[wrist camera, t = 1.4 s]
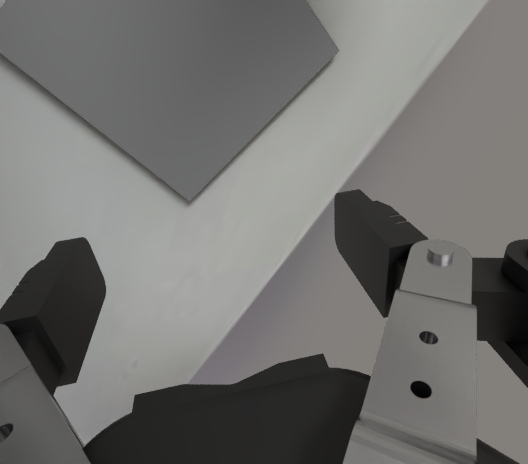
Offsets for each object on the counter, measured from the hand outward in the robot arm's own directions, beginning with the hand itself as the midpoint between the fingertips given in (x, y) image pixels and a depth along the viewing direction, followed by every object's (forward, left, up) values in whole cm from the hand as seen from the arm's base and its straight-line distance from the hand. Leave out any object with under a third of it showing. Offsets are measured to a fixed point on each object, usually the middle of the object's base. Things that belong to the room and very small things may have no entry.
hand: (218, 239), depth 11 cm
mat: (-4, +3, -21) cm, 21 cm away
